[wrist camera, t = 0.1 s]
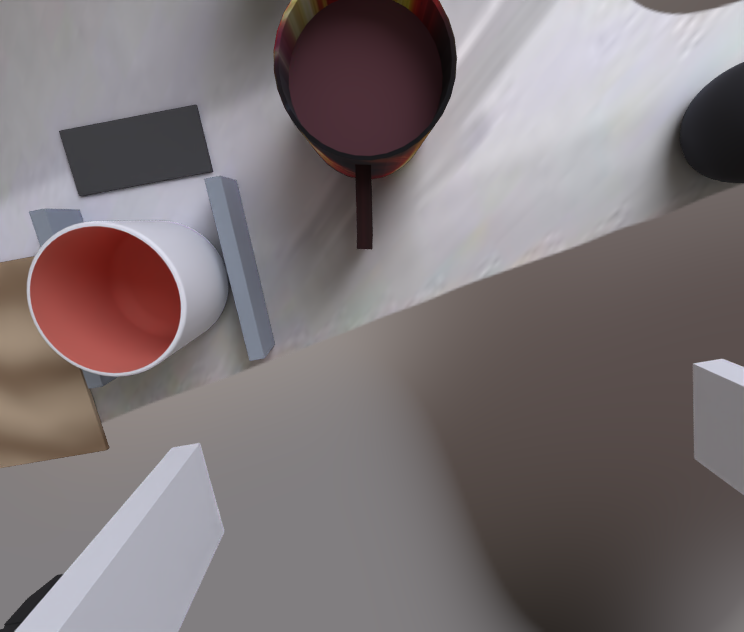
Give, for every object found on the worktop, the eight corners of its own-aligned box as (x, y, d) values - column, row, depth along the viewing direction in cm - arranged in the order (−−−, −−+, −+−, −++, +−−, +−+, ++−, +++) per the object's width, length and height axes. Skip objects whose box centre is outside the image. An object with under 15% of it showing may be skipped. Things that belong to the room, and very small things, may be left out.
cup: (133, 345, 39) (54, 388, 29) (99, 231, 37) (2, 236, 27) (245, 326, 39) (203, 363, 29) (216, 210, 36) (161, 207, 27)
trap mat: (61, 131, 35) (58, 130, 35) (197, 105, 35) (195, 104, 34) (81, 196, 36) (79, 196, 36) (213, 171, 36) (211, 171, 35)
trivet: (-115, 283, 38) (-120, 284, 37) (44, 254, 37) (41, 254, 37) (-36, 472, 41) (-40, 474, 41) (109, 447, 41) (106, 450, 41)
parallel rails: (65, 212, 36) (28, 211, 32) (236, 180, 36) (220, 175, 32) (116, 371, 39) (88, 388, 35) (274, 344, 39) (264, 358, 35)
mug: (362, 246, 37) (359, 260, 26) (283, 85, 35) (238, 17, 23) (468, 194, 36) (514, 182, 25) (395, 24, 34) (409, -79, 22)
